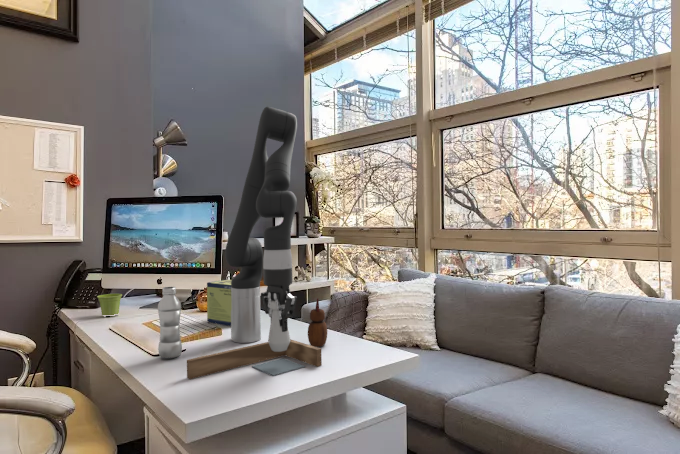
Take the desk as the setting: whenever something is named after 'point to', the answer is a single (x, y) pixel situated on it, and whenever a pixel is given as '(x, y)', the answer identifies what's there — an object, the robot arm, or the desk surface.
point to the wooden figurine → (317, 327)
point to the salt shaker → (277, 332)
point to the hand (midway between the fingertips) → (279, 331)
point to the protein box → (219, 302)
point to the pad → (278, 366)
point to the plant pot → (109, 303)
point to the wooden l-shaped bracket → (250, 358)
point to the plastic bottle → (169, 324)
